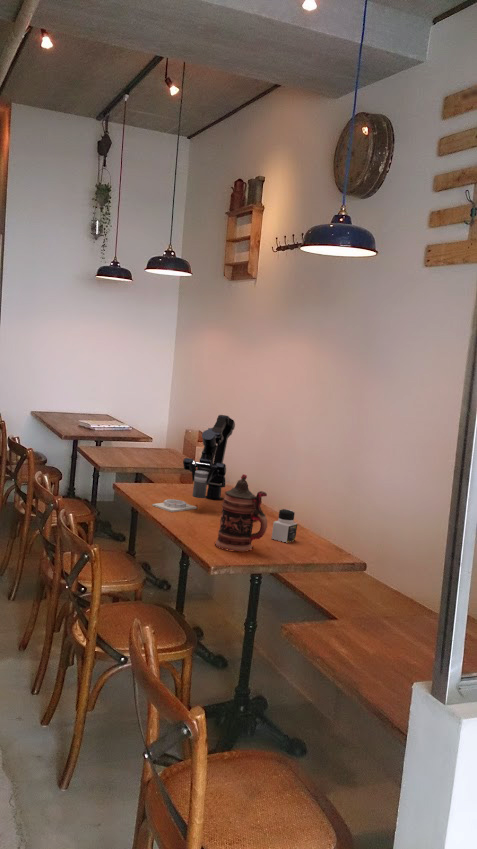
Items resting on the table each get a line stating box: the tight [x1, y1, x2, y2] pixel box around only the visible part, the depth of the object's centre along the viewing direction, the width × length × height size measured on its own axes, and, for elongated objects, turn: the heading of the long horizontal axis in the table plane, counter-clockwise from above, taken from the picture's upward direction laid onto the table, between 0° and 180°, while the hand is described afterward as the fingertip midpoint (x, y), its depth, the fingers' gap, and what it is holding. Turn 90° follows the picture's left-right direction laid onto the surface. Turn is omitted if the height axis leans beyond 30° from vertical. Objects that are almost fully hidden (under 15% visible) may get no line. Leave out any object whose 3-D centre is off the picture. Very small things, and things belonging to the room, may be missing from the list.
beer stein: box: [215, 474, 268, 552], centre depth 271 cm, size 17×28×18 cm
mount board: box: [151, 498, 198, 513], centre depth 325 cm, size 16×12×3 cm
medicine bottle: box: [271, 508, 298, 544], centre depth 292 cm, size 7×7×12 cm
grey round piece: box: [191, 469, 209, 499], centre depth 321 cm, size 6×6×11 cm
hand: (199, 482), depth 319 cm, fingers closed on grey round piece, 6 cm apart
